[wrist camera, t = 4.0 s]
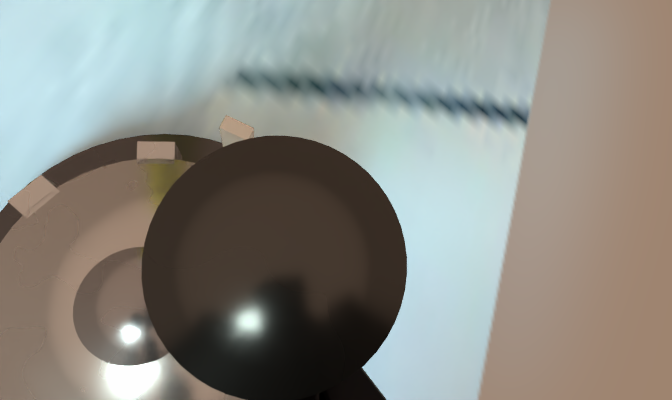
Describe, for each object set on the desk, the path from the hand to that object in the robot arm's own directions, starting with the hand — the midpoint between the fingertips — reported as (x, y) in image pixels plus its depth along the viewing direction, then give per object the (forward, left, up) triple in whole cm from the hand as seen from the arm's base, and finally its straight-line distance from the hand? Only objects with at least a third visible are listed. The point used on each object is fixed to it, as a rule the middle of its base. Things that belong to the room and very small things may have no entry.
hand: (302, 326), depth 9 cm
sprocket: (+2, +4, -6) cm, 7 cm away
